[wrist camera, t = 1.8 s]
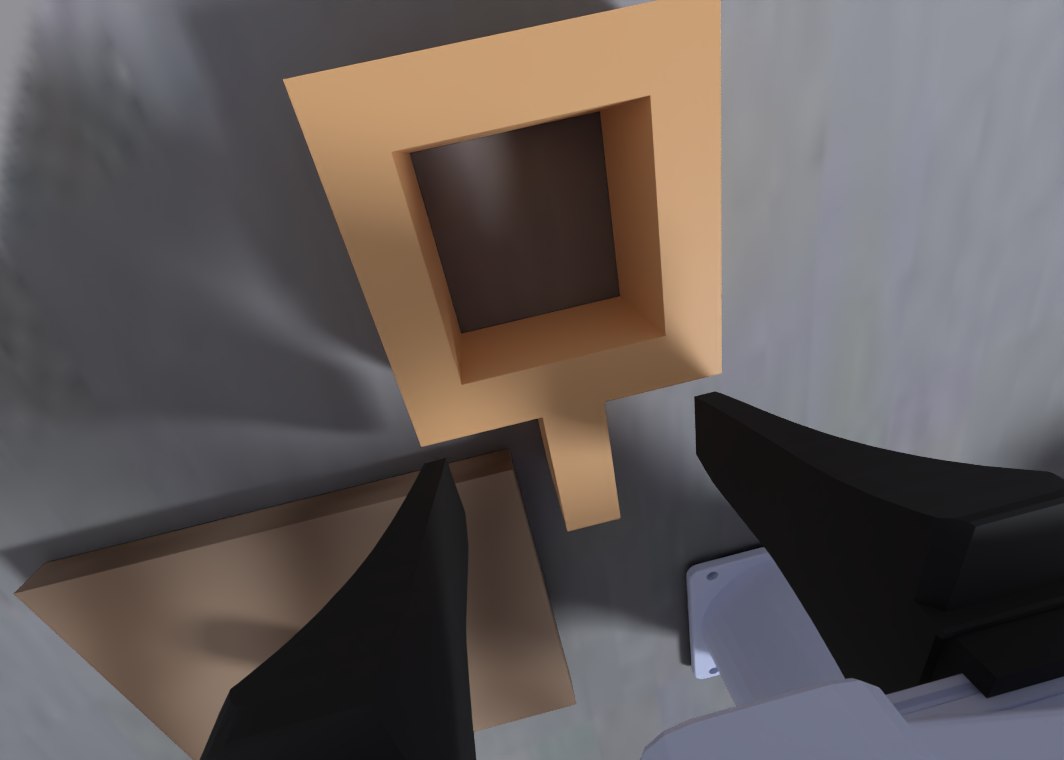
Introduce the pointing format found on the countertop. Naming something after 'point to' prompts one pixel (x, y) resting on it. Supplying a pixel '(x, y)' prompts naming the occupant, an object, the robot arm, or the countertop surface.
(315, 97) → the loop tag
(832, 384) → the countertop surface
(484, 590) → the peg board
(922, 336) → the countertop surface
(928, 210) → the countertop surface
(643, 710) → the countertop surface
